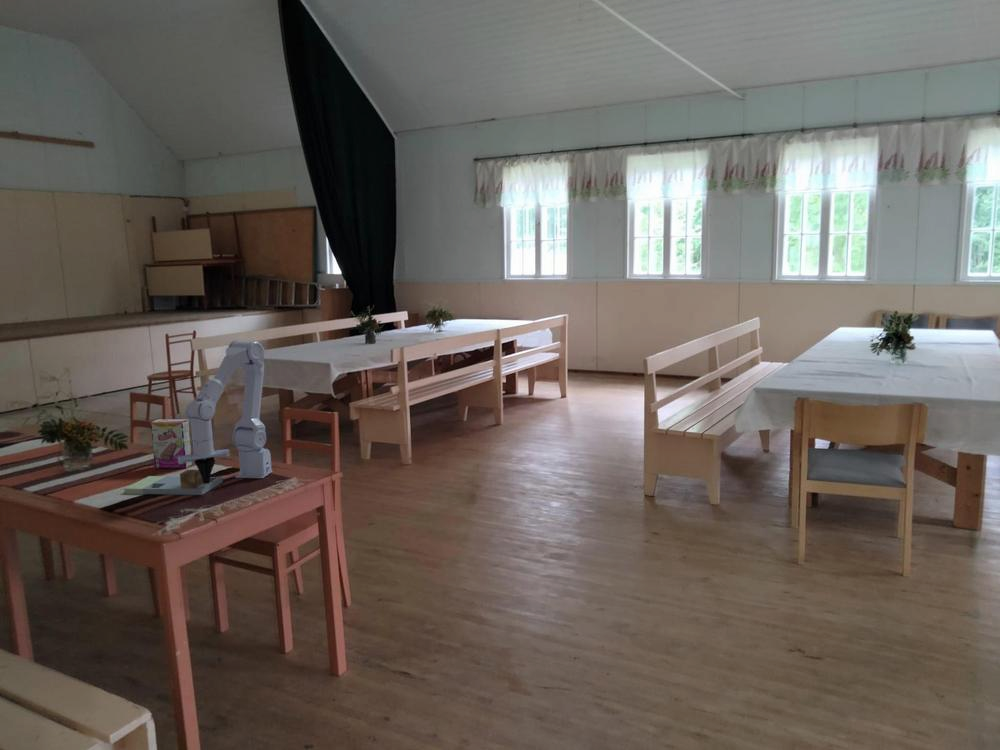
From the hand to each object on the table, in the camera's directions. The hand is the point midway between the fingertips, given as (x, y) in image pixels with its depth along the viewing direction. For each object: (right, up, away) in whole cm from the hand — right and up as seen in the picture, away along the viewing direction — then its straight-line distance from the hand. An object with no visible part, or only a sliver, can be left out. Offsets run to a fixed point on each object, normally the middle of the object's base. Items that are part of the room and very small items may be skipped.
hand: (206, 482), depth 227 cm
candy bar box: (-22, +1, +29) cm, 36 cm away
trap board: (-12, -2, +5) cm, 13 cm away
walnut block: (-5, -1, +1) cm, 5 cm away
